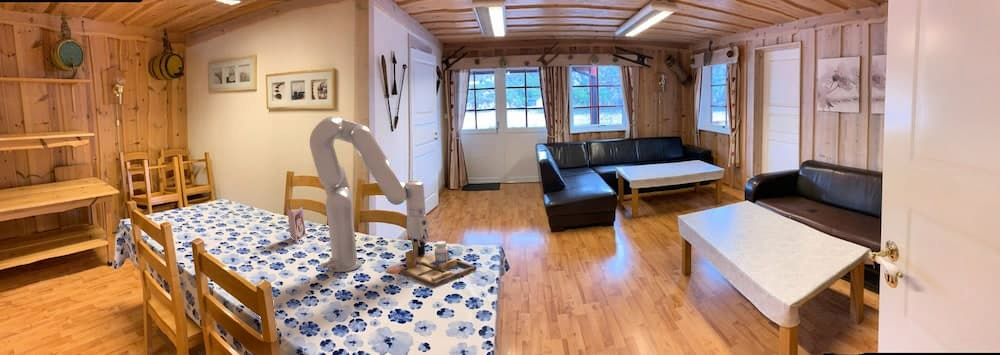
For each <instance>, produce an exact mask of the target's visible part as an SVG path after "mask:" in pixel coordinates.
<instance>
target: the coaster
mask: <svg viewBox="0 0 1000 355" xmlns="http://www.w3.org/2000/svg"><path fill="white" fill-rule="evenodd" d="M402 269H403V270H405V269H406V268H405V266H404V265H403V266H402V265H392V266H389V267H387V268H386V272H387V273H388V274H399V273H400V274H401V270H402Z"/></svg>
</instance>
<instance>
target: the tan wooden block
mask: <svg viewBox="0 0 1000 355" xmlns="http://www.w3.org/2000/svg"><path fill="white" fill-rule="evenodd" d="M404 253H405V267H406V268H405V269H406V271H408V272H411V273H413V274H416V275H418V276H422V275H425V274H427V273H430V272H433V269H431V268H429V267H426V266H423V265H422V264H419V265H417V262H416V255H415V251H413V249H411V250H408V251H406V252H404Z"/></svg>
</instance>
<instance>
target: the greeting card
mask: <svg viewBox="0 0 1000 355" xmlns="http://www.w3.org/2000/svg"><path fill="white" fill-rule="evenodd" d="M286 209H287V219H288V226H289V234H290V238H291V237H292V238H293V239H294V240H295V241H296V242H298V241H299V240H300V239H301V238H302V237H304V236H305V235H306V226H305V218H304V209H303V206H301V207H300V208H298V209H296V210H295V211H292V210H290V209H289V208H286ZM305 237H306V236H305ZM305 237H304V238H305ZM295 241H294V242H295ZM300 241H301V240H300ZM300 241H299V242H300ZM296 242H295V243H296ZM299 242H298V243H299Z"/></svg>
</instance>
